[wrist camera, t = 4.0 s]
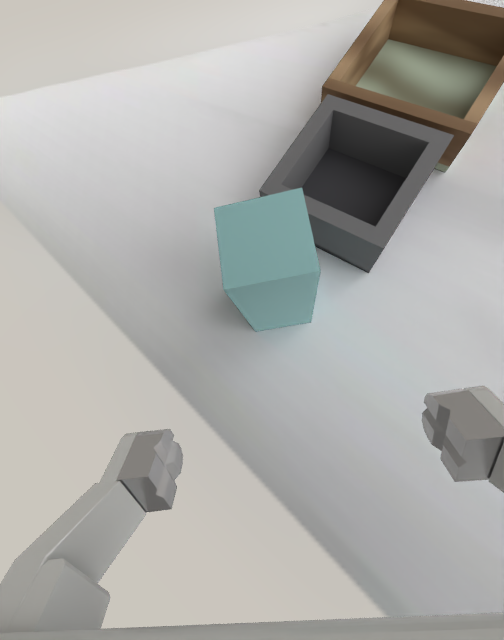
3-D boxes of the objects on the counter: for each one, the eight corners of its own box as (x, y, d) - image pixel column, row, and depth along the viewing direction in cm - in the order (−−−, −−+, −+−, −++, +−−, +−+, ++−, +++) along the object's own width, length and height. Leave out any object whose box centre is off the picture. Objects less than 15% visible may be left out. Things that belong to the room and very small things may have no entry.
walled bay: (381, 36, 27) (393, -14, 24) (509, 68, 24) (544, 15, 21) (319, 126, 26) (322, 86, 23) (445, 172, 23) (471, 134, 19)
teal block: (300, 271, 23) (302, 187, 13) (310, 322, 22) (320, 270, 12) (248, 281, 24) (213, 207, 14) (255, 331, 22) (223, 289, 13)
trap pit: (323, 137, 26) (327, 94, 22) (428, 177, 23) (454, 135, 19) (265, 221, 25) (259, 190, 21) (368, 272, 22) (383, 248, 18)
